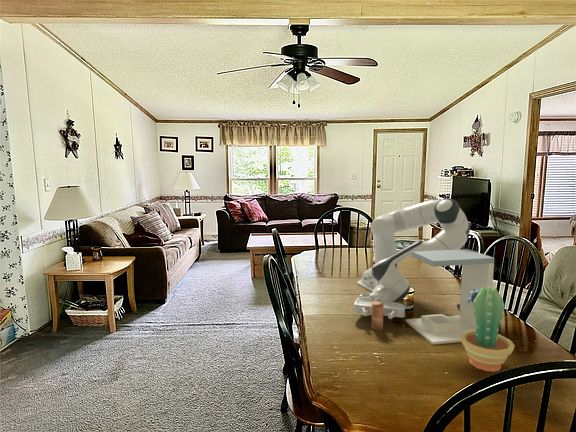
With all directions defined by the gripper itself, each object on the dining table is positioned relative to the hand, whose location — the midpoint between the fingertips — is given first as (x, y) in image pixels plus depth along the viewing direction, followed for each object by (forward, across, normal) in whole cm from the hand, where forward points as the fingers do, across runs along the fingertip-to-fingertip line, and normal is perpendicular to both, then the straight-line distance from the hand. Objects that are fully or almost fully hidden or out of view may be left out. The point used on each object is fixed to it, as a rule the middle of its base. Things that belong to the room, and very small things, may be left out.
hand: (377, 315), depth 144 cm
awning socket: (-7, -26, -6) cm, 27 cm away
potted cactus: (+16, -35, -6) cm, 39 cm away
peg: (-1, 0, -6) cm, 6 cm away
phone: (-29, -37, -6) cm, 47 cm away
